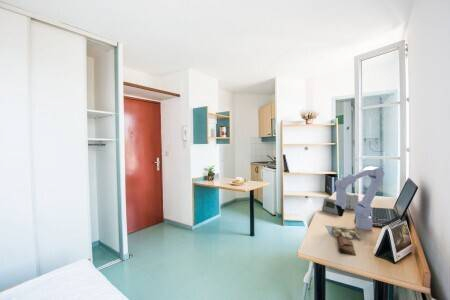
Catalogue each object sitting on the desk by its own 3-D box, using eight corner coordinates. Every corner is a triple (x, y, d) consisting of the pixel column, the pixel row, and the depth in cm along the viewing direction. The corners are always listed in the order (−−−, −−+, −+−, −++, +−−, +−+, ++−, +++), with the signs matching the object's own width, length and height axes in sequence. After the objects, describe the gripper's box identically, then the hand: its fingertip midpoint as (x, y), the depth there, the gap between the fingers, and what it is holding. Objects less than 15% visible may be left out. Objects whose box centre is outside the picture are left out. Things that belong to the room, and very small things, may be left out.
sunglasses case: (357, 256, 117) (350, 244, 118) (344, 260, 120) (337, 248, 121) (352, 241, 134) (346, 231, 135) (341, 245, 136) (335, 235, 137)
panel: (354, 233, 144) (355, 228, 144) (360, 240, 134) (360, 235, 134) (331, 231, 147) (331, 226, 147) (335, 237, 137) (335, 232, 137)
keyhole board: (352, 228, 153) (353, 223, 153) (363, 241, 134) (363, 235, 134) (324, 226, 157) (325, 221, 157) (331, 238, 139) (331, 232, 138)
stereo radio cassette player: (358, 209, 194) (359, 187, 193) (350, 210, 193) (350, 187, 192) (342, 202, 215) (343, 182, 214) (334, 203, 214) (335, 182, 213)
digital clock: (320, 209, 194) (321, 197, 193) (328, 208, 197) (328, 196, 196) (335, 215, 179) (336, 203, 178) (344, 214, 182) (344, 201, 181)
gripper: (331, 193, 159) (331, 212, 160) (337, 199, 145) (336, 219, 145) (342, 194, 157) (342, 213, 158) (349, 199, 143) (348, 220, 144)
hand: (340, 216), depth 152 cm, fingers closed
